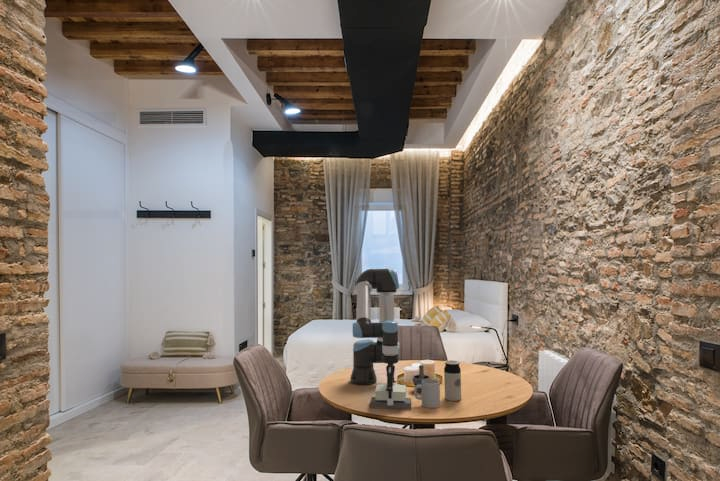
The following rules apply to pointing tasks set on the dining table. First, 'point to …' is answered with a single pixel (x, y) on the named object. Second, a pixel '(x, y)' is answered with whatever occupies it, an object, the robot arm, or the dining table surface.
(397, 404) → the mat
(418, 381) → the mortar and pestle
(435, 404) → the mug
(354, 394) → the dining table surface
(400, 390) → the lid
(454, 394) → the travel mug
